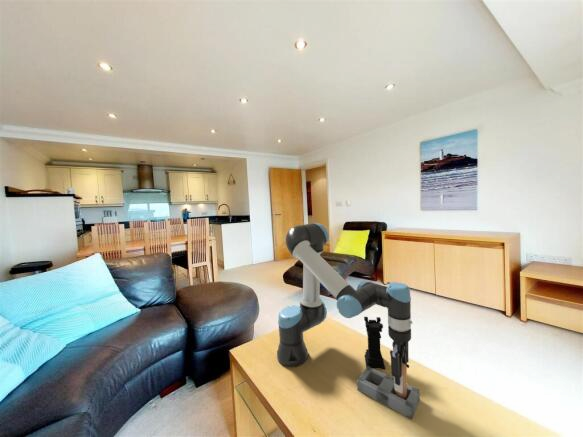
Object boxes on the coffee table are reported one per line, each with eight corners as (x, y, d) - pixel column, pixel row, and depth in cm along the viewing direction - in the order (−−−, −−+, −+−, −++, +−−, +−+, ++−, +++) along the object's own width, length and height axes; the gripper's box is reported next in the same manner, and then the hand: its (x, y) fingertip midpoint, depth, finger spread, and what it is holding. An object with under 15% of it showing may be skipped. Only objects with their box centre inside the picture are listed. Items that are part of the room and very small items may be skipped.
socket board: (357, 389, 93) (356, 380, 93) (368, 374, 101) (367, 366, 100) (411, 419, 80) (411, 408, 79) (419, 399, 87) (419, 389, 87)
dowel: (393, 401, 87) (392, 365, 85) (397, 394, 90) (396, 360, 88) (405, 407, 84) (404, 370, 83) (408, 400, 87) (408, 364, 86)
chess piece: (385, 369, 103) (384, 326, 102) (366, 367, 105) (364, 325, 103) (382, 357, 111) (380, 316, 109) (364, 356, 113) (363, 316, 111)
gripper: (402, 341, 76) (404, 408, 78) (417, 319, 88) (418, 378, 90) (379, 333, 81) (381, 397, 83) (396, 314, 93) (397, 369, 95)
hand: (400, 387), depth 86 cm, fingers closed on dowel, 4 cm apart
